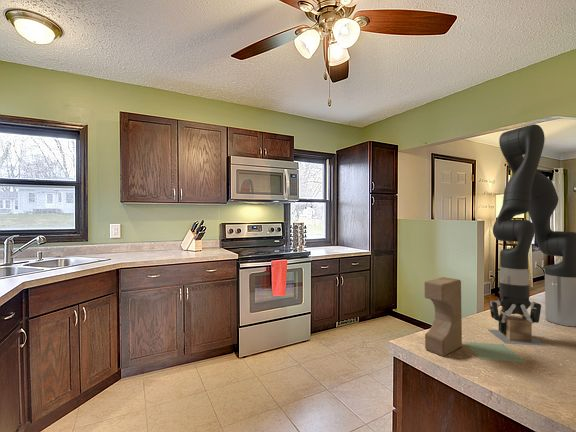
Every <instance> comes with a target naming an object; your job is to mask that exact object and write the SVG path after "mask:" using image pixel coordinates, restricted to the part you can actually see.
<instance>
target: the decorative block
mask: <svg viewBox="0 0 576 432" xmlns="http://www.w3.org/2000/svg"><path fill="white" fill-rule="evenodd" d="M423 283H424V286H423V287H424V298H425V299H428V300H430V301H431V302H432V304H433V306H434V319H433V322H432V325H431V327H430V328H429V330H428V331H427V332H426V333H424V349H425V350H426V351H427V352H430V353H433V354H436V355H437V356H440V357H445V356H446V355H448V354H450V353H452V352H454V351H456V350H458V349H459V348H461V347H462V346H463V333H462V332H463V331H462V328H463V327H462V325H463V324H462V322H463V321H462V280H461V279H457V278H450V277H447V276H445V277H444V276H442V277H438V278H433V279H431V280H425V281H424V282H423Z"/></svg>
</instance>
